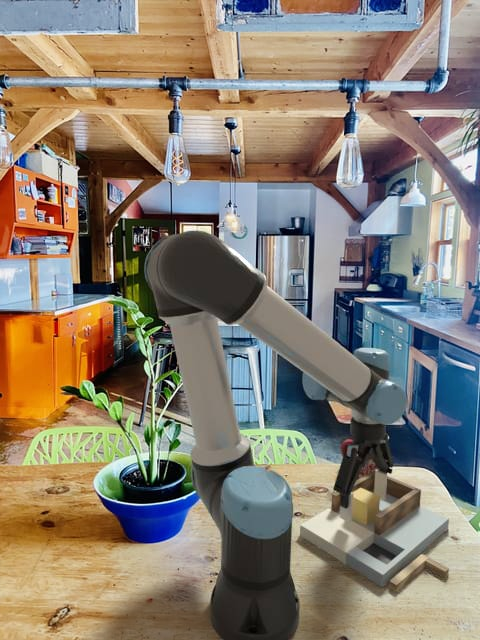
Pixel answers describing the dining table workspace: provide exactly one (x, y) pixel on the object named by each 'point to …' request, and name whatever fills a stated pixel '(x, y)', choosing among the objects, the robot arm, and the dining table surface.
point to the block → (365, 506)
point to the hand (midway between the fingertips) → (363, 508)
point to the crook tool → (415, 568)
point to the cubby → (392, 513)
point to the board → (375, 540)
